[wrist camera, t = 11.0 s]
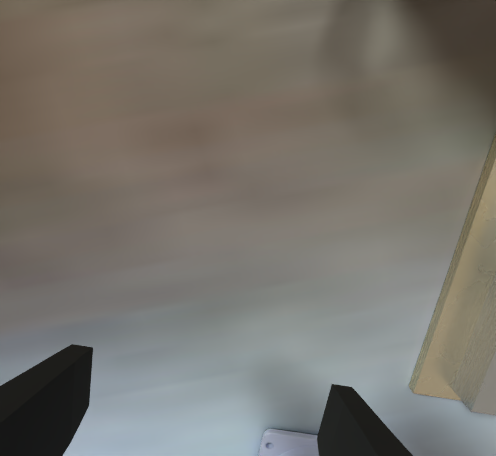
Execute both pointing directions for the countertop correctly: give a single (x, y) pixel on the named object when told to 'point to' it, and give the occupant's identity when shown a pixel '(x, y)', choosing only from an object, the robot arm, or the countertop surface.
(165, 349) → the countertop surface
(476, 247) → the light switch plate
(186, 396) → the countertop surface
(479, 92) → the countertop surface
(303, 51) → the countertop surface
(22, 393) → the robot arm
